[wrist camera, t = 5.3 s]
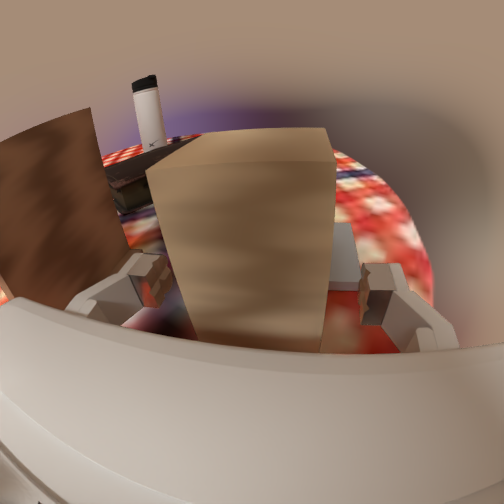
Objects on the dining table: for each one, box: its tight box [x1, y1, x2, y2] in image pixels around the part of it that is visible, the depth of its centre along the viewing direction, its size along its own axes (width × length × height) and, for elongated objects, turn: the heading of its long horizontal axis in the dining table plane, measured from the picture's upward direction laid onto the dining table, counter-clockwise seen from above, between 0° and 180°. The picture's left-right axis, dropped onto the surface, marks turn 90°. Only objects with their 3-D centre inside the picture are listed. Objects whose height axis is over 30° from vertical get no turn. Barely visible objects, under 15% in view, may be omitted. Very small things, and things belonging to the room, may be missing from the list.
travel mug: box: [132, 75, 168, 153], centre depth 56 cm, size 6×7×20 cm
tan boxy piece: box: [145, 128, 337, 353], centre depth 12 cm, size 5×5×11 cm
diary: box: [104, 135, 202, 214], centre depth 42 cm, size 19×25×5 cm
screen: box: [0, 107, 143, 311], centre depth 15 cm, size 12×4×14 cm, turn 169°
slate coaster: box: [328, 222, 362, 291], centre depth 21 cm, size 8×8×1 cm
